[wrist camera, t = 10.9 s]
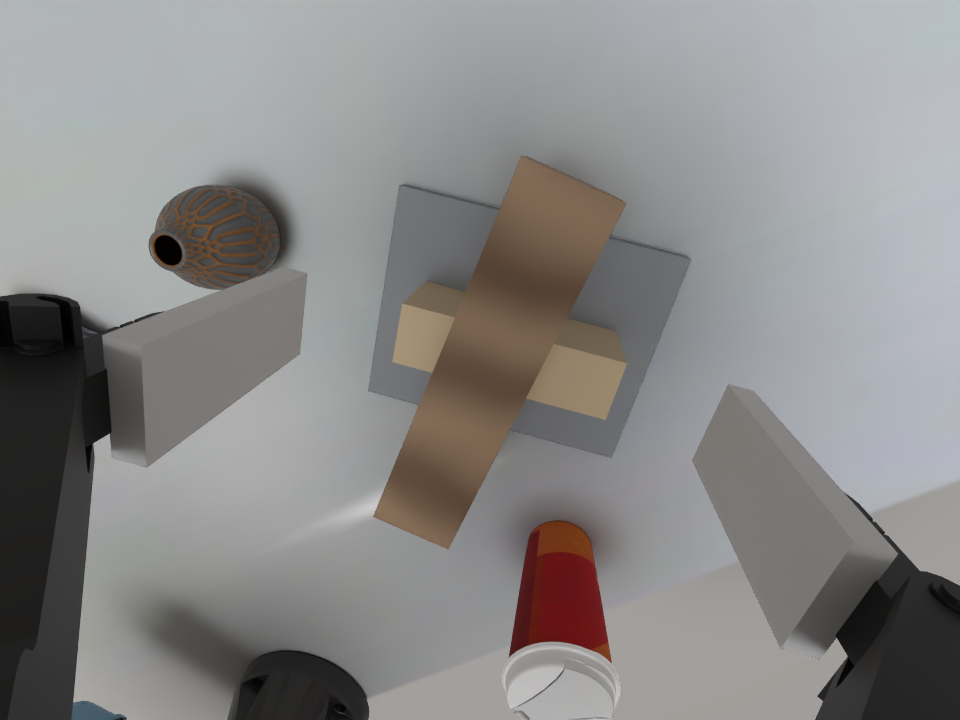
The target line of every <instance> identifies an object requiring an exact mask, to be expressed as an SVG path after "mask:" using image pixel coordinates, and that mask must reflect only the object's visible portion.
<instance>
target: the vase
mask: <svg viewBox="0 0 960 720" xmlns="http://www.w3.org/2000/svg"><path fill="white" fill-rule="evenodd" d="M279 248H280V234H279V229H278V226H277V223H276V221H275V219H274V217H273V215H272V214H271V212H270V211H269V209H268V208H267V207H266V206H265V205H264V204H263V203H262V202H261V201H260V200H258V199H257V198H256V197H254V196H253V195H251V194H249V193H247V192H245V191H243V190H240V189H237V188H234V187H230V186H225V185H204V186H198V187H194V188H191V189H188V190H186V191H184V192H182V193H180V194H178V195H177V196H175V197H174V198H173V199H171V200H170V201H169V202H168V203H167V204H166V205H165V206H164V208H163V209H162V211H161V212H160V214H159V216H158V219H157V222H156V227H155V232H154V233H153V234H152V235H151V237H150V239H149V251H150V254H151V256H152V258H153V259H154V261H155V262H156V263H157V264H158V265H159V266H161V267H162V268H164V269H166V270H169V271H172V272H174V273H175V274H176V275H177V276H179V277H180V278H182V279H183V280H185V281H187V282H189V283H191V284H193V285H195V286H199V287H202V288H207V289H215V290H224V289H227V288H229V287H232V286H235V285H237V284H240V283H243V282H245V281H248V280H251V279H253V278H256V277H259V276H261V275H264V274H265V273H266V272H267V271H268V270H269V269H270V268H271V266H272V265H273V263H274V262H275V260H276V258H277V255H278V252H279Z"/></svg>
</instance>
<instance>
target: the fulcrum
mask: <svg viewBox="0 0 960 720" xmlns="http://www.w3.org/2000/svg"><path fill="white" fill-rule="evenodd" d="M498 212H499V209H497V208H493V207H489V206H485V205H481V204H478V203H474V202H470V201H466V200H462V199H458V198H454V197H450V196H446V195H442V194H438V193H434V192H430V191H426V190H422V189H419V188H415V187H411V186H407V185H399V192H398V198H397V205H396V211H395V218H394V225H393V231H392V238H391V244H390V251H389V257H388V264H387V271H386V277H385V284H384V290H383V297H382V303H381V310H380V317H379V323H378V330H377V336H376V343H375V349H374V356H373V363H372V369H371V376H370V382H369V389H368V391H370V392H374V393H378V394H381V395H385V396H389V397H392V398H396V399H399V400H403V401H407V402H410V403H414V404H418V405H419V404H420V402H421V399H422V397H423V394H424V392H425V389H426V387H427V385H428V382H429V380H430V377H431V375H432V372H433V370H434V368H435V365H436V363H437V360H438V358H439V355H440V353H441V351H442V348H443V346H444V343H445V341H446V338H447V336H448V334H449V331H450V329H451V326H452V324H453V321H454V319H455V316H456V314H457V312H458V309H459V307H460V304H461V302H462V299H463V297H464V295H465V292H466V290H467V287H468V285H469V282H470V280H471V278H472V275H473V273H474V270H475V268H476V265H477V263H478V261H479V258H480V256H481V253H482V251H483V248H484V246H485V243H486V241H487V239H488V236H489V234H490V231H491V229H492V226H493V224H494V222H495V219H496V217H497V214H498ZM690 261H691V259H690V258H688V257H686V256H682V255H678V254H674V253H670V252H666V251H662V250H659V249H655V248H651V247H647V246H643V245H639V244H635V243H631V242H627V241H623V240H619V239H615V238H611V237H609V238H608V240H607V242H606V244H605V246H604V248H603V250H602V252H601V253H600V255H599V257H598V259H597V261H596V263H595V265H594V267H593V269H592V271H591V273H590V275H589V277H588V279H587V281H586V283H585V285H584V286H583V288H582V290H581V292H580V294H579V296H578V298H577V300H576V302H575V304H574V306H573V308H572V310H571V312H570V314H569V316H568V318H567V319H566V321H565V323H564V325H563V327H562V329H561V331H560V333H559V335H558V337H557V339H556V341H555V343H554V345H553V347H552V349H551V351H550V353H549V354H548V356H547V358H546V360H545V362H544V364H543V366H542V368H541V370H540V372H539V374H538V376H537V378H536V380H535V382H534V384H533V386H532V387H531V389H530V391H529V393H528V395H527V397H526V399H525V401H524V403H523V405H522V407H521V409H520V411H519V413H518V415H517V417H516V419H515V420H514V422H513V424H512V426H511V428H510V430H512V431H516V432H519V433H523V434H526V435H530V436H534V437H537V438H541V439H545V440H548V441H552V442H555V443H559V444H563V445H566V446H570V447H574V448H577V449H581V450H585V451H588V452H592V453H595V454H599V455H603V456H606V457H610V458H612V455H613V453H614V451H615V448H616V446H617V443H618V441H619V438H620V436H621V433H622V431H623V428H624V426H625V423H626V421H627V418H628V416H629V413H630V411H631V408H632V406H633V403H634V401H635V398H636V396H637V393H638V391H639V388H640V386H641V383H642V381H643V378H644V376H645V373H646V371H647V368H648V366H649V363H650V361H651V358H652V356H653V353H654V351H655V348H656V346H657V343H658V341H659V338H660V336H661V333H662V331H663V328H664V326H665V323H666V321H667V318H668V316H669V313H670V311H671V308H672V306H673V303H674V301H675V298H676V296H677V293H678V291H679V288H680V286H681V283H682V281H683V278H684V276H685V273H686V271H687V269H688V266H689V264H690Z"/></svg>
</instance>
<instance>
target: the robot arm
mask: <svg viewBox="0 0 960 720" xmlns="http://www.w3.org/2000/svg"><path fill="white" fill-rule="evenodd" d="M306 282H307V273H304V272H300V271H297V270H293V269H289V268H285V267H283V268H280V269H277V270H275V271H272V272H269V273H267V274H264V275H261V276H259V277H256V278H253V279H251V280H248V281H245V282H243V283H240V284H237V285H235V286H232V287H229V288H227V289H224V290H221V291H219V292H216V293H213V294H210V295H208V296H205V297H202V298H200V299H197V300H194V301H192V302H189V303H186V304H184V305H181V306H178V307H176V308H173V309H170V310H168V311H164V312H158V313H152V314H149V315H146V316H144V317H141V318H138V319H136V320H135V321H134V322H133V321H130V322H127V323H125V324H122V325H120V327H114V328H111V329H108V330H106V331H103V332H100V333H98V334H95V335H92V336H89V337H87V338H84V339H83V333H82V323H81V312H80V306H79V304H78V302H76V301H74V300H72V299H70V298H67V297H62V296H58V295H50V294H15V295H8V296H1V297H0V720H126V719H127V718H126V717H125V716H123V715H121V714H113V713H111V712H109V711H108V710H106V709H104V708H102V707H100V706H98V705H96V704H94V703H92V702H88V701H80V702H75V703H73V697H74V685H75V674H76V663H77V651H78V640H79V629H80V617H81V606H82V594H83V583H84V572H85V560H86V549H87V538H88V526H89V515H90V504H91V492H92V481H93V469H94V448H93V443H94V442H96V441H98V440H99V439H101V438H103V437H104V436H106V435H108V434H109V433H110V441H111V454H112V458H115V459H118V460H122V461H125V462H129V463H132V464H136V465H139V466H143V467H146V468H147V467H148V466H150V465H151V464H152V463H154V462H155V461H156V460H158V459H159V458H160V457H162V456H163V455H164V454H166V453H167V452H168V451H170V450H171V449H172V448H174V447H175V446H177V445H178V444H179V443H181V442H182V441H183V440H185V439H186V438H187V437H189V436H190V435H191V434H193V433H194V432H195V431H197V430H198V429H199V428H201V427H202V426H203V425H205V424H206V423H208V422H209V421H210V420H212V419H213V418H214V417H216V416H217V415H218V414H220V413H221V412H222V411H224V410H225V409H226V408H228V407H229V406H230V405H232V404H233V403H235V402H236V401H237V400H239V399H240V398H241V397H243V396H244V395H245V394H247V393H248V392H249V391H251V390H252V389H253V388H255V387H256V386H257V385H259V384H260V383H261V382H263V381H264V380H266V379H267V378H268V377H270V376H271V375H272V374H274V373H275V372H276V371H278V370H279V369H280V368H282V367H283V366H284V365H286V364H287V363H288V362H290V361H291V360H292V359H294V358H295V357H297V356H298V355H299V354H300V348H301V337H302V326H303V315H304V304H305V293H306ZM692 461H693V463H694V465H695V468H696V470H697V472H698V474H699V476H700V478H701V480H702V482H703V485H704V487H705V489H706V491H707V493H708V495H709V497H710V499H711V502H712V504H713V506H714V508H715V510H716V512H717V514H718V516H719V519H720V521H721V523H722V525H723V527H724V529H725V531H726V534H727V536H728V538H729V540H730V542H731V544H732V546H733V548H734V551H735V553H736V555H737V557H738V559H739V561H740V563H741V565H742V568H743V569H744V572H745V574H746V576H747V578H748V580H749V582H750V584H751V586H752V589H753V591H754V593H755V595H756V597H757V599H758V601H759V604H760V606H761V608H762V610H763V612H764V614H765V616H766V618H767V621H768V623H769V625H770V627H771V629H772V631H773V633H774V636H775V638H776V640H777V642H778V644H779V646H780V648H781V649H783V650H787V651H790V652H794V653H798V654H801V655H805V656H808V657H811V658H815V659H818V660H820V659H821V657H822V656H823V655H824V654H825V652H826V651H827V650H828V648H829V647H830V646H831V644H832V643H833V642H834V640H835V639H836V637H837V639H838V640H839V642H840V644H841V645H842V647H843V649H844V650H845V652H846V653H847V655H848V657H847V659H846V660H845V661H844V662H843V664H842V665H841V666H840V667H839V669H838V670H837V671H836V673H835V674H834V675H833V677H832V678H831V679H830V680H829V682H828V683H827V685H826V686H825V687H824V688H823V690H822V691H821V692H820V693H819V695H818V697H819V698H820V699H821V700H823V703H822V706H821V708H820V710H819V712H818V715H817V717H816V719H815V720H960V586H959V585H957V584H955V583H953V582H951V581H949V580H947V579H945V578H943V577H941V576H938V575H935V574H932V573H929V572H923V571H919V570H918V568H917V567H916V566H915V565H914V564H913V563H912V562H911V561H910V560H909V559H908V557H907V556H906V555H905V554H904V553H903V552H902V551H901V550H900V549H899V548H898V547H897V545H896V544H895V543H894V542H893V541H892V540H891V539H890V537H889V536H887V535H884V533H885V532H884V531H883V530H882V529H881V528H880V527H879V525H878V524H877V523H876V522H873V519H872V518H871V516H870V515H869V514H868V513H867V512H866V511H865V510H864V509H863V508H862V507H861V505H860V504H859V503H858V502H856V501H855V500H854V499H852V498H851V497H850V496H848V495H847V494H846V493H844V492H843V491H842V490H841V489H840V488H839V486H838V485H837V484H836V483H835V482H834V481H833V480H832V479H831V477H830V476H829V475H828V474H827V473H826V472H825V471H824V470H823V468H822V467H821V466H820V465H819V464H818V463H817V462H816V461H815V459H814V458H813V457H812V456H811V455H810V454H809V453H808V452H807V450H806V449H805V448H804V447H803V446H802V445H801V444H800V443H799V441H798V440H797V439H796V438H795V437H794V436H793V435H792V434H791V432H790V431H789V430H788V429H787V428H786V427H785V426H784V425H783V423H782V422H781V421H780V420H779V419H778V418H777V417H776V416H775V414H774V413H773V412H772V411H771V410H770V409H769V408H768V407H767V405H766V404H765V403H764V402H763V401H762V400H761V399H760V398H759V396H758V395H757V394H756V393H755V392H754V391H751V390H748V389H744V388H740V387H736V386H733V385H729V384H728V386H727V388H726V390H725V392H724V394H723V396H722V399H721V401H720V403H719V405H718V407H717V409H716V411H715V413H714V415H713V418H712V420H711V422H710V424H709V426H708V428H707V430H706V432H705V434H704V436H703V439H702V441H701V443H700V445H699V447H698V449H697V451H696V453H695V455H694V458H693V460H692ZM368 718H369V706H368V703H367V699H366V697H365V695H364V693H363V692H362V690H361V689H360V687H359V686H358V685H357V684H356V682H355V681H354V680H353V679H352V678H351V677H349V676H348V675H347V674H346V673H345V672H343V671H342V670H340V669H339V668H337V667H336V666H334V665H332V664H331V663H329V662H327V661H324V660H322V659H320V658H317V657H314V656H311V655H307V654H303V653H297V652H275V653H270V654H266V655H264V656H261V657H259V658H258V659H256V660H255V661H254V662H253V663H252V664H251V665H250V666H249V667H248V669H247V671H246V672H245V674H244V676H243V677H242V679H241V680H240V682H239V684H238V686H237V688H236V691H235V694H234V697H233V701H232V704H231V708H230V712H229V715H228V719H227V720H368Z"/></svg>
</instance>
